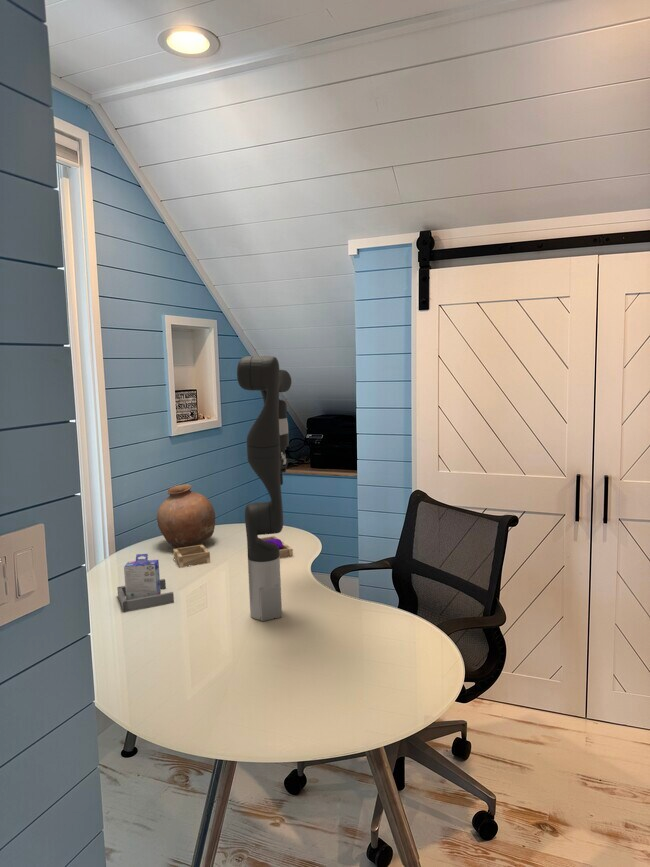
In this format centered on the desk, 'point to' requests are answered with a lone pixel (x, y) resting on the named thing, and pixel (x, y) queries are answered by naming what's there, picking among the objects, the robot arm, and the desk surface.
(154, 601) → the bay
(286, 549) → the crystal cradle
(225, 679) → the desk surface
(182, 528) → the pottery
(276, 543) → the crystal
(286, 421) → the robot arm
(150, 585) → the ink cartridge box
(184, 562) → the wooden tray
